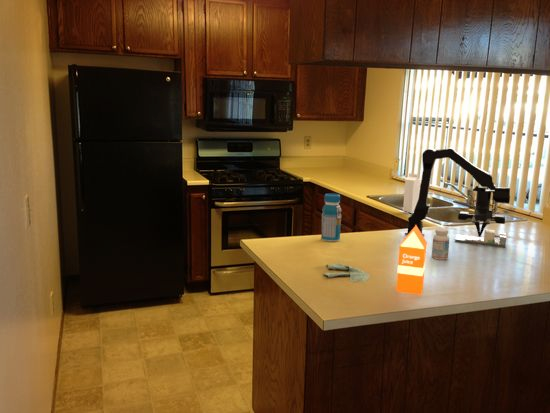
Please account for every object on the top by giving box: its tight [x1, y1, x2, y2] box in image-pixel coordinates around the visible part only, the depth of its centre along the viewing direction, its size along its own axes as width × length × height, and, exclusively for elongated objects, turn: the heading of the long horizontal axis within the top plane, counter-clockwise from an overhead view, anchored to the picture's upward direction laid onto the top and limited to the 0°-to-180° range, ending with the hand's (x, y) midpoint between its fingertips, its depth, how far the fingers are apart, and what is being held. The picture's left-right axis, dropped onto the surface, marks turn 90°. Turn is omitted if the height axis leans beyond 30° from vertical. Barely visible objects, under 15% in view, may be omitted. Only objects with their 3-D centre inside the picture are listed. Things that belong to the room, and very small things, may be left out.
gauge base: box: [454, 231, 507, 249], centre depth 216 cm, size 20×10×4 cm, turn 66°
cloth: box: [322, 262, 371, 283], centre depth 172 cm, size 20×22×2 cm
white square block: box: [483, 228, 500, 241], centre depth 212 cm, size 8×8×4 cm
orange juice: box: [396, 225, 428, 296], centre depth 156 cm, size 8×9×20 cm
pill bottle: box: [431, 228, 450, 261], centre depth 191 cm, size 6×6×11 cm
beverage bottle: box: [320, 193, 342, 243], centre depth 214 cm, size 8×8×20 cm
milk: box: [402, 172, 422, 213], centre depth 276 cm, size 6×6×22 cm
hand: (479, 236), depth 216 cm, fingers closed
